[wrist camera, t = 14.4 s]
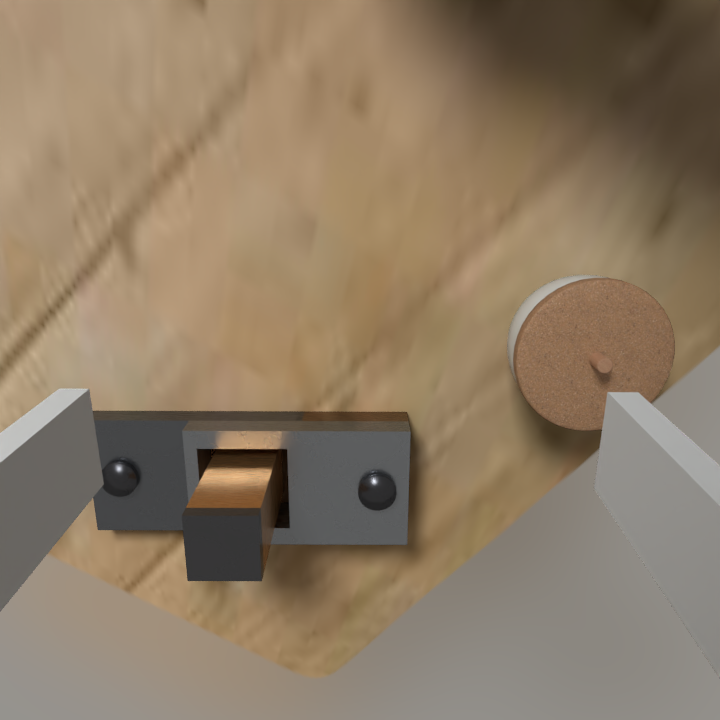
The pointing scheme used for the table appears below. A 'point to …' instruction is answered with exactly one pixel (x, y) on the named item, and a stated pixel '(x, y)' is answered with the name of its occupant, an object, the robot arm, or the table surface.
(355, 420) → the slotted plate with knobs
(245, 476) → the square wooden peg
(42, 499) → the robot arm
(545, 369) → the lidded jar
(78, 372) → the table surface
